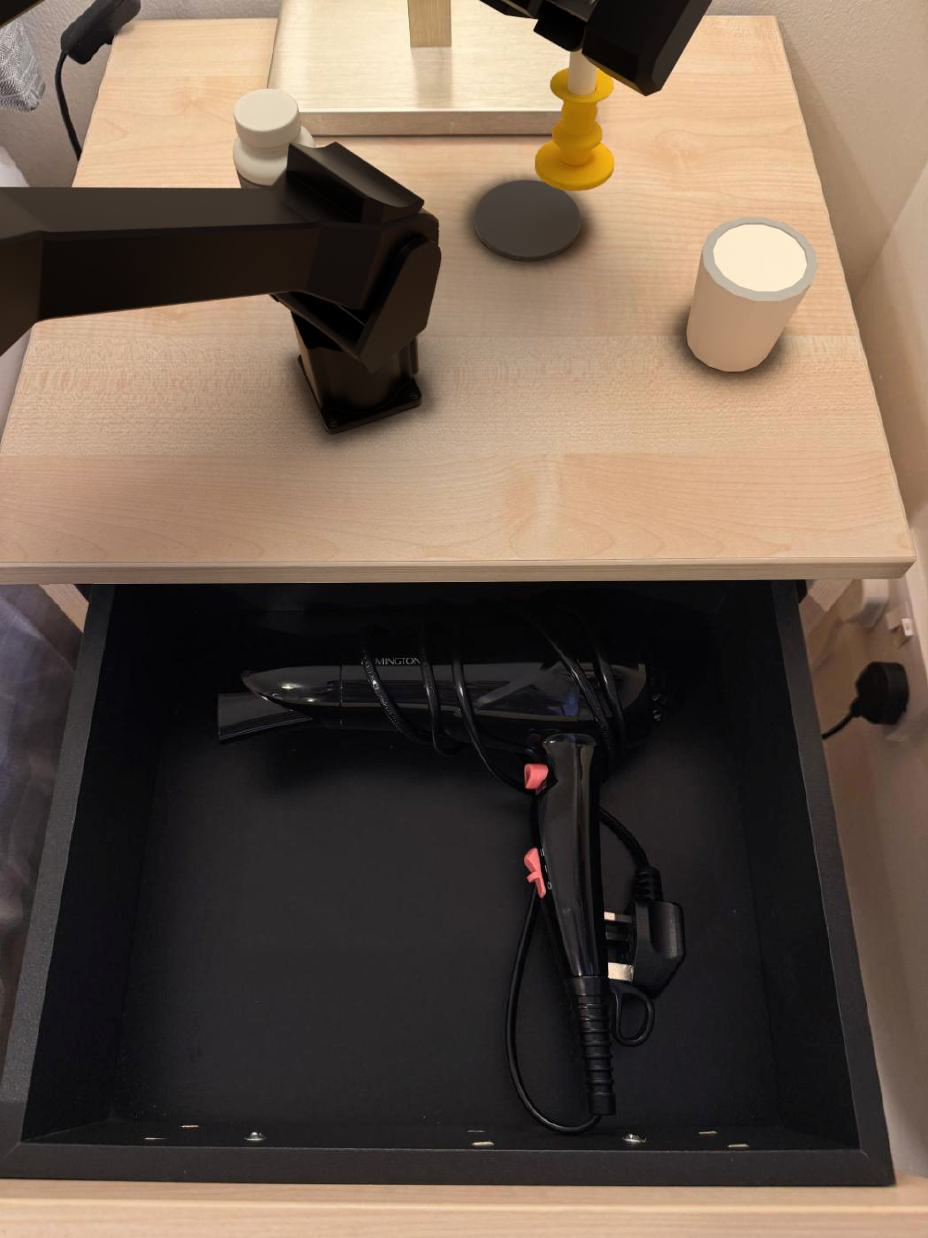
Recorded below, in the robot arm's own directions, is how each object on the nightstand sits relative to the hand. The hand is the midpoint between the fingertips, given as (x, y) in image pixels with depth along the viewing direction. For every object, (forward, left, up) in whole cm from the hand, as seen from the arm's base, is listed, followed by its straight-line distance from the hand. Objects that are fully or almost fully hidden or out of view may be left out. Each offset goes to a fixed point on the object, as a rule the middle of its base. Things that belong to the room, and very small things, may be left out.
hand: (594, 18), depth 51 cm
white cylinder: (+5, -15, -14) cm, 21 cm away
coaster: (-3, 0, -13) cm, 14 cm away
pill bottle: (-19, +5, -14) cm, 24 cm away
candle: (-1, -2, -8) cm, 9 cm away
